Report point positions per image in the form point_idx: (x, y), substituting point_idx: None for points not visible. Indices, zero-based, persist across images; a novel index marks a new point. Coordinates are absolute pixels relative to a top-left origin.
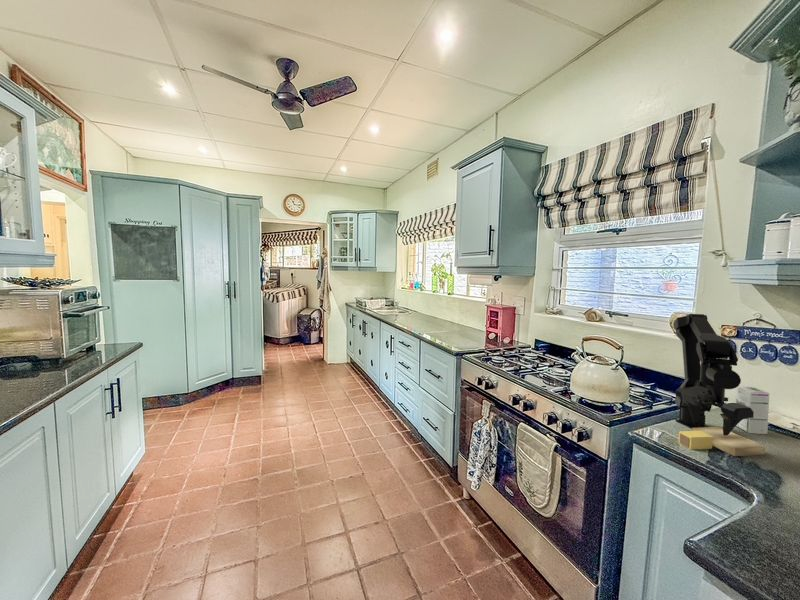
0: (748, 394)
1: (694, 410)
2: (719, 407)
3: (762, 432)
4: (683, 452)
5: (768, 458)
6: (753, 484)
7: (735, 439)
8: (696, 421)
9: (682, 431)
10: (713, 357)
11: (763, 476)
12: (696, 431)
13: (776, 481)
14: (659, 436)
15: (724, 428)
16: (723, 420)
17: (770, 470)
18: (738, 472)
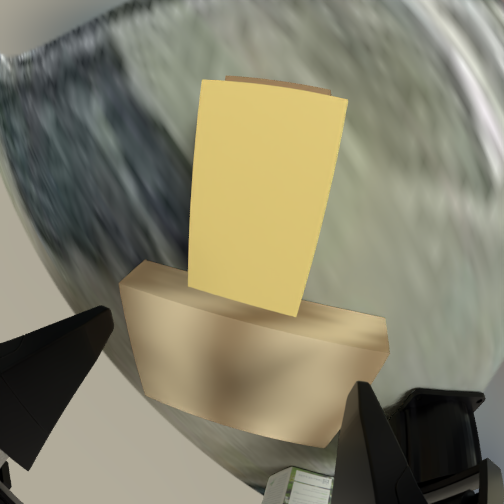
0: None
1: (356, 491)
2: (7, 498)
3: (272, 477)
4: (219, 7)
5: None
6: (16, 99)
7: (204, 386)
8: (348, 396)
9: (335, 132)
10: None
11: (38, 186)
12: (291, 272)
13: (25, 194)
14: (456, 83)
15: (56, 329)
16: (2, 365)
17: (67, 259)
18: (51, 119)
